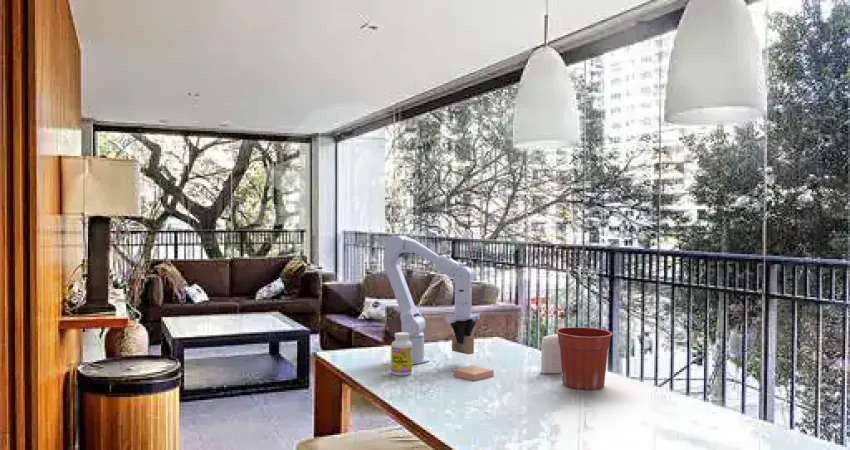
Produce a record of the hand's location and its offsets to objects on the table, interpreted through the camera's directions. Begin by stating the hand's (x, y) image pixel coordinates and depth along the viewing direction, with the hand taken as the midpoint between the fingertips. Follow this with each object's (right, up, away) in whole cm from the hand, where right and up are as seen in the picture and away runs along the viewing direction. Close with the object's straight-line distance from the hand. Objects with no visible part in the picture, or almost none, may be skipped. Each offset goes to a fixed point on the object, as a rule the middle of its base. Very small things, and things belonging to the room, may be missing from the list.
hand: (462, 342), depth 221 cm
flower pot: (+35, -8, -25) cm, 44 cm away
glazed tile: (-1, -7, -12) cm, 13 cm away
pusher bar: (0, -3, 0) cm, 3 cm away
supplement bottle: (-20, -8, -13) cm, 25 cm away
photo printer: (+30, -8, -9) cm, 32 cm away
